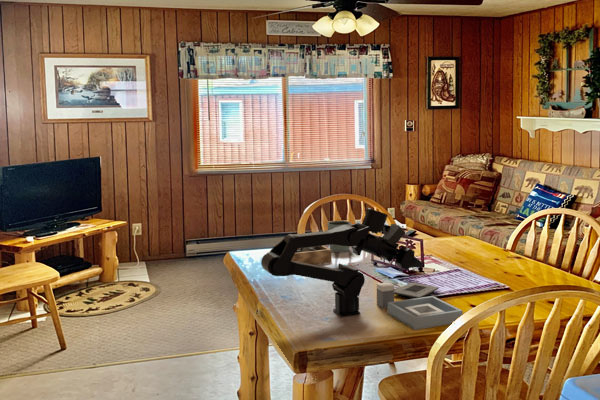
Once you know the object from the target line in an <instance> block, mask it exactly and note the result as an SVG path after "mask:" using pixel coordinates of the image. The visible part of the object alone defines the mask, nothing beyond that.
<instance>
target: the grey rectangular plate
mask: <svg viewBox="0 0 600 400" xmlns="http://www.w3.org/2000/svg"><path fill="white" fill-rule="evenodd" d="M439 289H440V287H439V286H434V285H427V284H423V283H419V282H418V283H417V282H409V283H407V284H405V285H403V286H401V287H398V288H396V289H395V288H394V295H395V296H396V295H397V296H403V297H406V296H407V298H410V299H415V298H422V297H427V295H430V294H431V293H434V292H436V291H437V290H439Z"/></svg>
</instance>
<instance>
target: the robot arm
mask: <svg viewBox="0 0 600 400" xmlns="http://www.w3.org/2000/svg"><path fill="white" fill-rule="evenodd" d="M388 217H389V215H388V214H387V213H384V212H382V211H379V210H375V209H373V208H369V207H367V208H366V211H365V215H364V217H363V220H362V223H361V222H356V223H354V224H351V225H350V226H349V225H342V226H338V227H335V228H333V229H331V230H328V229H327V230H323V231H314V232H304V233H295V234H294V233H293V234H292V233H289V234H287V235H286V236H284V237H283V238H282V240H280V242H278V243H276V244H277V245H276V244H275V245H274V246H273V247H272V248H271V250H270V251H269V252H266V253H265V254H263V256H262V257H261V262H260V263H261V267H262V269H263V270H265V271H266V272H267V273H269V274H270V275H271V276H274V277H288V276H300V277H303V278H310V279H317V280H321V281H325V282H326V281H327V282H332V285H331V287H332V289H333V291H335V293H334V302H335V303H334V304H335V305H334V308H333V309H332V310H333V312H334V313H336V314H337V315H339V316H340V317H347V316H353V315H360V314H361V311H360V297H359V296H360V293H361V291H362V288H363V286H364V284H365V282H366V281H365V276H364V274H363V273H362V272H360V269H358V268H356V267H354V266H352V265H351V264H342V263H341V262H340V263H338V264H337V265H338V267H327V266H323V265H318V264H308V263H302V262H297V261H292V258H293V256H294V254H295V252H296V251H297V249H298V248H306V247H314V246H323V245H324V246H329V245H332V244H333V245H341V246H350V249H351V250H352V253H353V254H354V255H356V256H358V257H359V256H361V254H362V252H365V253H367V254H371V255H373V256H376V257H377V258H380V259H383V260H385V261H388V262H390V263H392V261H393V260H395V264H396V266H397V267H399V268H401V269H404V270H406V271H407V270H409V269H411V268H418V267H419V268H420V267H423V264H424V263H423V261H421V260H420V259H418V258H417V257H416V256H415V253H416V252H415V250H413V249H410V248H408V247H406V246H403V247H401V248H400V249H399V245H400V243H398V242H400V240H401V239H402V238H403V236H405V235H406V234H407V233H406V231H405V230H404V229H403V228H402V227H401V226H400V225H399V224H396V223H390V224H386V221H387V219H388ZM382 232H383V235H382V236H379V235H378V236H377V234H381V233H382ZM372 233H373V234H372ZM374 234H376V235H374Z"/></svg>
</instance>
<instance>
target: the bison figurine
mask: <svg viewBox="0 0 600 400" xmlns="http://www.w3.org/2000/svg"><path fill="white" fill-rule="evenodd" d="M317 250H320V247H319V246H314V247H306V248H300V249H299V250H297V251H296V252H295V253H298V252H308V251H317Z"/></svg>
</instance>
